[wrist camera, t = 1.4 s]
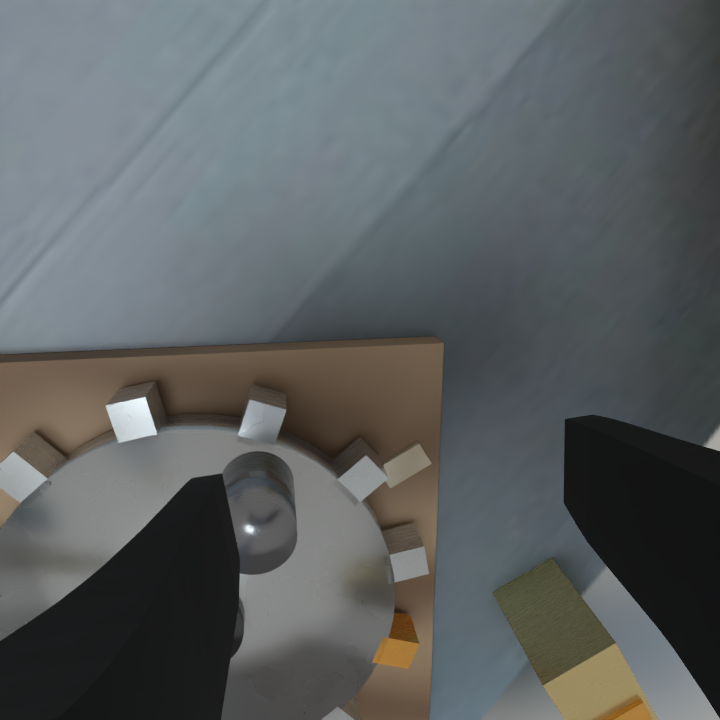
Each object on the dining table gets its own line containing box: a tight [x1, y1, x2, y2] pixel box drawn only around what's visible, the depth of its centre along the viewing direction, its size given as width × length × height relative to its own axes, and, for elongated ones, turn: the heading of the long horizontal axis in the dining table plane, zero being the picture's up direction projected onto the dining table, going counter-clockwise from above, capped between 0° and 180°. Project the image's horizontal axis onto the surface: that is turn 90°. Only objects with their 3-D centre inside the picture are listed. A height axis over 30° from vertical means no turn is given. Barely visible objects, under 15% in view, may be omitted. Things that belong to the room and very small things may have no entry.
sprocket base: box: [0, 336, 444, 720], centre depth 22 cm, size 18×18×1 cm
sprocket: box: [0, 381, 429, 720], centre depth 19 cm, size 16×16×4 cm
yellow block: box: [493, 558, 658, 720], centre depth 23 cm, size 7×3×5 cm, turn 30°
